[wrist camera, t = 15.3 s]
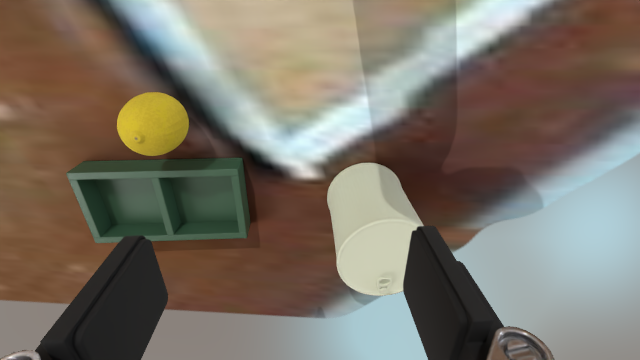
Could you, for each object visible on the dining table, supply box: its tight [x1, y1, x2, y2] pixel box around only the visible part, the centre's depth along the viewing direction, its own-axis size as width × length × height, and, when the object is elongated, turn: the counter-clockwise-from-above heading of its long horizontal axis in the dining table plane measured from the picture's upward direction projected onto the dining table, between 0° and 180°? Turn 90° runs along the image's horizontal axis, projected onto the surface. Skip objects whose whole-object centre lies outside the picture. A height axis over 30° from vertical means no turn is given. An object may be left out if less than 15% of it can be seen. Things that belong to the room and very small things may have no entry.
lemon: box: [117, 92, 189, 156], centre depth 29 cm, size 6×6×8 cm
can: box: [327, 163, 424, 296], centre depth 34 cm, size 9×9×12 cm
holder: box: [66, 158, 250, 243], centre depth 36 cm, size 9×17×3 cm, turn 90°
